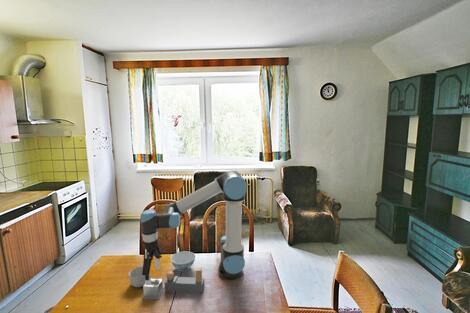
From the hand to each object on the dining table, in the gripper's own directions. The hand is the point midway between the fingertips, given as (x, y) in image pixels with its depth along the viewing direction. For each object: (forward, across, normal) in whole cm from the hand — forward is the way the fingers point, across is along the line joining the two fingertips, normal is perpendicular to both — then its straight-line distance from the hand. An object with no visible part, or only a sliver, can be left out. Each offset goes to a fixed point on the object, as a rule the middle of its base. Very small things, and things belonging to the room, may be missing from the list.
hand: (153, 276), depth 138 cm
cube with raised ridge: (+9, 0, -1) cm, 9 cm away
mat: (+10, 0, -1) cm, 10 cm away
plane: (+10, -5, +15) cm, 19 cm away
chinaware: (+10, -24, +9) cm, 28 cm away
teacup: (+10, -9, -12) cm, 18 cm away
